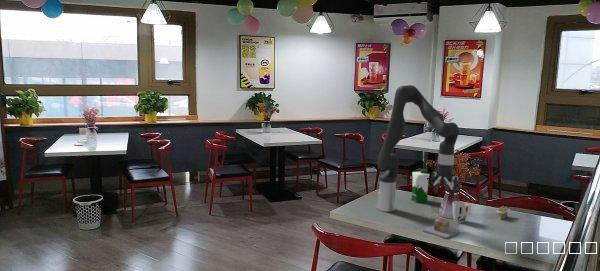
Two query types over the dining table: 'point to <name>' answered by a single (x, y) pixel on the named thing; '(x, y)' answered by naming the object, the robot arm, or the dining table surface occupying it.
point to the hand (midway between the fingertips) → (443, 194)
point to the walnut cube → (441, 225)
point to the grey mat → (444, 235)
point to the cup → (460, 211)
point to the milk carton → (420, 186)
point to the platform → (502, 212)
